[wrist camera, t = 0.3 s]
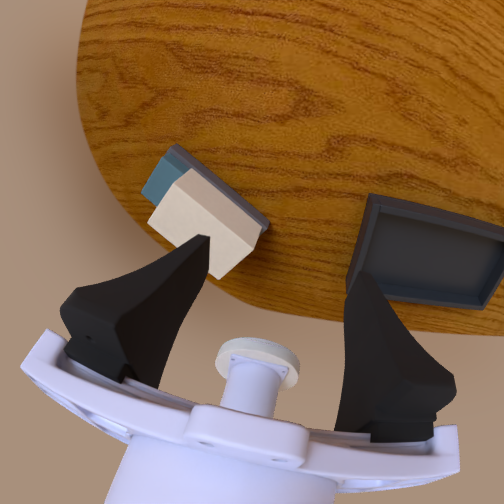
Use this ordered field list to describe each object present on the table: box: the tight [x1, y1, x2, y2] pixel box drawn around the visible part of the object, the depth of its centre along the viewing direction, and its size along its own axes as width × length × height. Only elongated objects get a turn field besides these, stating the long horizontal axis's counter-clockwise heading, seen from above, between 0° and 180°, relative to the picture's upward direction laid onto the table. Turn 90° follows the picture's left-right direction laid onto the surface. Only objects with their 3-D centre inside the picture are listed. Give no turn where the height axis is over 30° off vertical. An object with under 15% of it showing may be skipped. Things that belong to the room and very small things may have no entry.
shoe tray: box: [346, 193, 504, 310], centre depth 20 cm, size 16×9×2 cm, turn 88°
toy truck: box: [141, 144, 270, 280], centre depth 21 cm, size 10×5×4 cm, turn 50°
